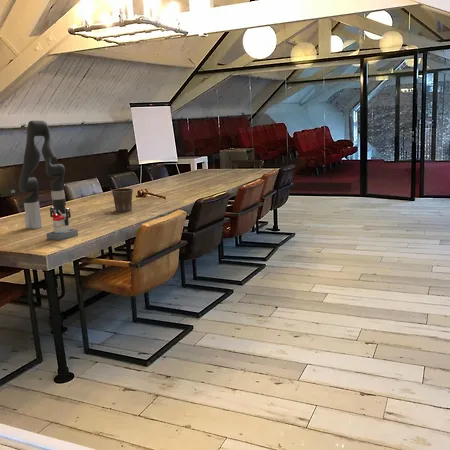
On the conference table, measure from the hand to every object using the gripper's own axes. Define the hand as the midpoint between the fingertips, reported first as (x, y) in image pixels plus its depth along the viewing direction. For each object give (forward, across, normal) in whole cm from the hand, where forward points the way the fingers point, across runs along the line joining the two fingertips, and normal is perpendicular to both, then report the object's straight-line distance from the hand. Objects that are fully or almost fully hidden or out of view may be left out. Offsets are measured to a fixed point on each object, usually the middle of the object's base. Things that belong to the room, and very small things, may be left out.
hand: (61, 224), depth 292 cm
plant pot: (+8, +21, -83) cm, 86 cm away
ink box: (+7, 0, 0) cm, 7 cm away
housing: (+8, 0, 0) cm, 8 cm away
